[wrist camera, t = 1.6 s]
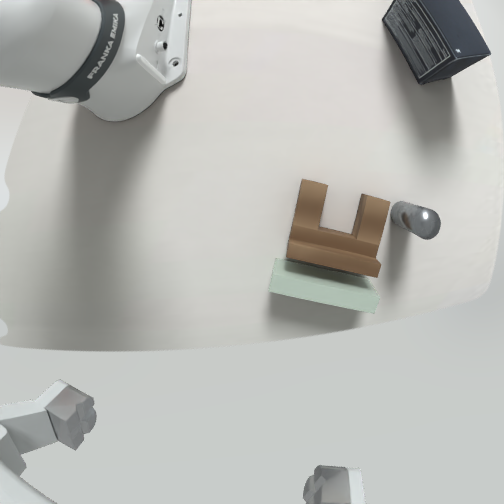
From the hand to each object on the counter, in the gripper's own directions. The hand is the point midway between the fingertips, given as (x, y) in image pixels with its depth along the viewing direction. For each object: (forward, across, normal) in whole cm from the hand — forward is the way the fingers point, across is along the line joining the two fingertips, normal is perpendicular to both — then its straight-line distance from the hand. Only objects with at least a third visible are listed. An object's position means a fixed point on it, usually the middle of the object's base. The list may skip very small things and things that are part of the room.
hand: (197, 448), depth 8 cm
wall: (+29, -7, +2) cm, 30 cm away
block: (+29, -7, -5) cm, 31 cm away
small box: (+29, -13, -31) cm, 45 cm away
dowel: (+29, -15, -8) cm, 34 cm away
